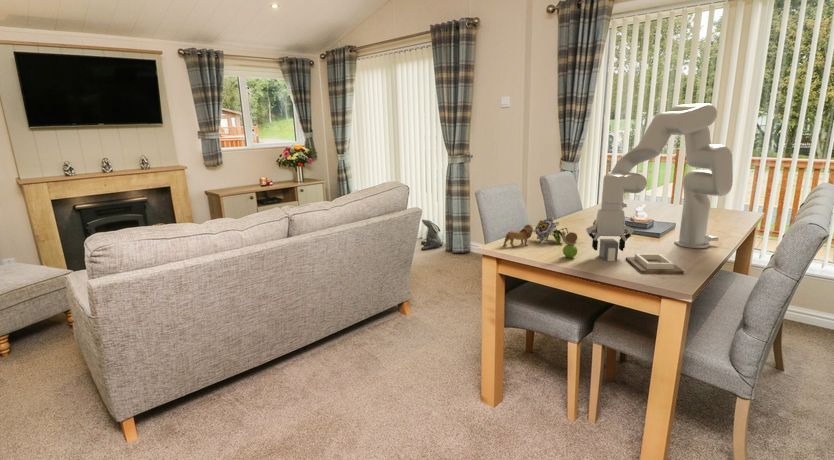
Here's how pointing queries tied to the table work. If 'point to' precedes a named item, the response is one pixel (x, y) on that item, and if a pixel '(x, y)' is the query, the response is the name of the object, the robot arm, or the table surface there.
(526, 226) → the lion figurine
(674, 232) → the table surface
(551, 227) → the passion flower
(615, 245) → the grey rectangular block
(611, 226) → the robot arm
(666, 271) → the brown piece
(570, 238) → the snail figurine
